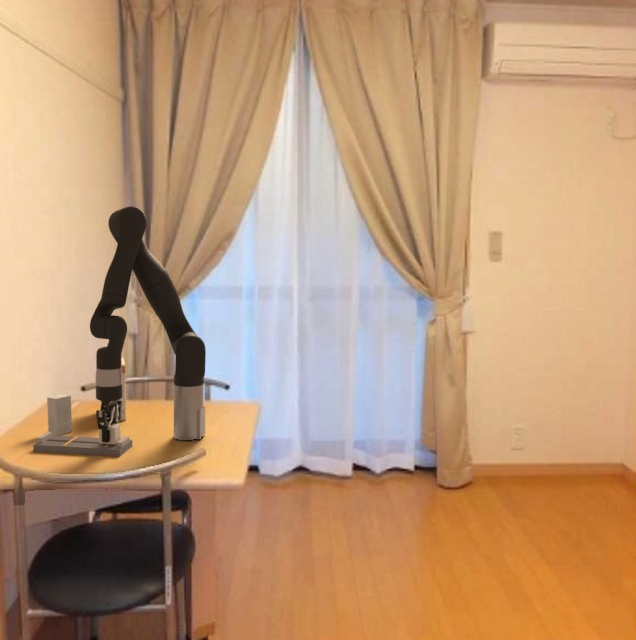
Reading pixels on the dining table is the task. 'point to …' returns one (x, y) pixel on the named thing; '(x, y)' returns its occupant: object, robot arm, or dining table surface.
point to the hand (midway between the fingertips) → (109, 438)
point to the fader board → (80, 445)
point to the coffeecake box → (123, 399)
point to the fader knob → (111, 434)
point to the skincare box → (59, 414)
